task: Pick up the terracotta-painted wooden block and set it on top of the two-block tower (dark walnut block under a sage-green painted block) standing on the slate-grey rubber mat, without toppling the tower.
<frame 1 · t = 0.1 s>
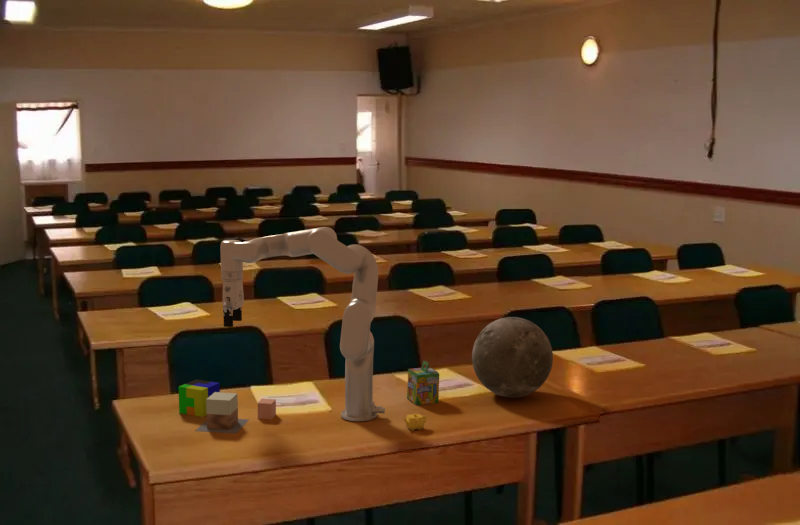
hand: (232, 323, 309), 31 cm above the table, fingers open, 9 cm apart
tower base: (222, 425, 296), resting on mat, touching tower top
terracotta block: (266, 417, 305), on the table
tower top: (222, 410, 295), point 5 cm above the table, touching tower base
mat: (222, 426, 296), on the table
globe: (511, 396, 333), on the table
teapot: (414, 430, 295), on the table
puzzle toy: (199, 412, 311), on the table
chalk box: (422, 401, 325), on the table
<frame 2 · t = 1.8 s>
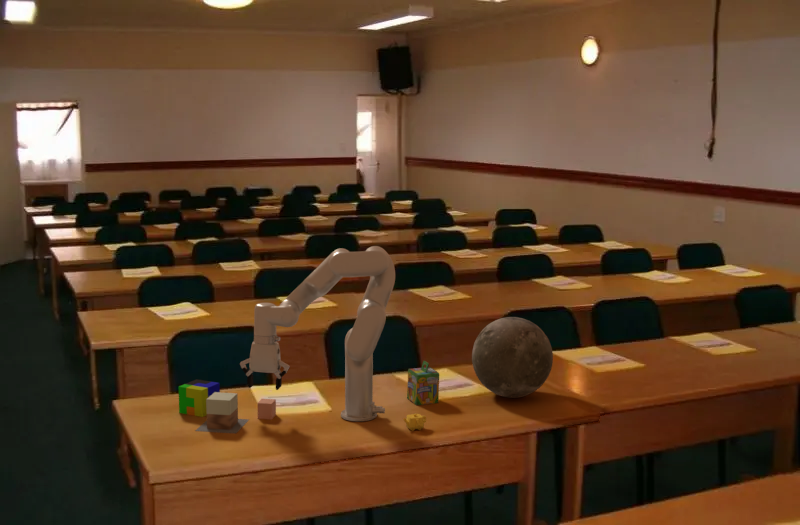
hand: (264, 387, 304), 11 cm above the table, fingers open, 9 cm apart
nothing on the table moved.
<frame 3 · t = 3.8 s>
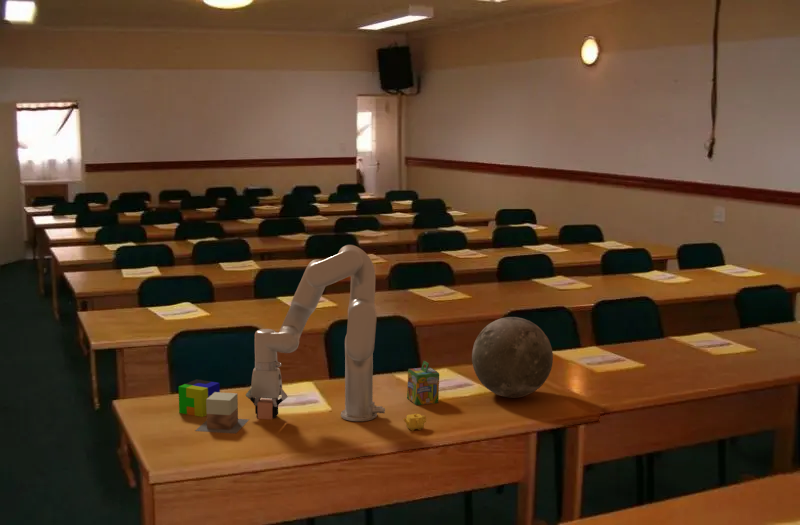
hand: (266, 415, 305), 1 cm above the table, fingers closed on terracotta block, 5 cm apart
terracotta block: (266, 417, 305), on the table, touching gripper
everything else where it was.
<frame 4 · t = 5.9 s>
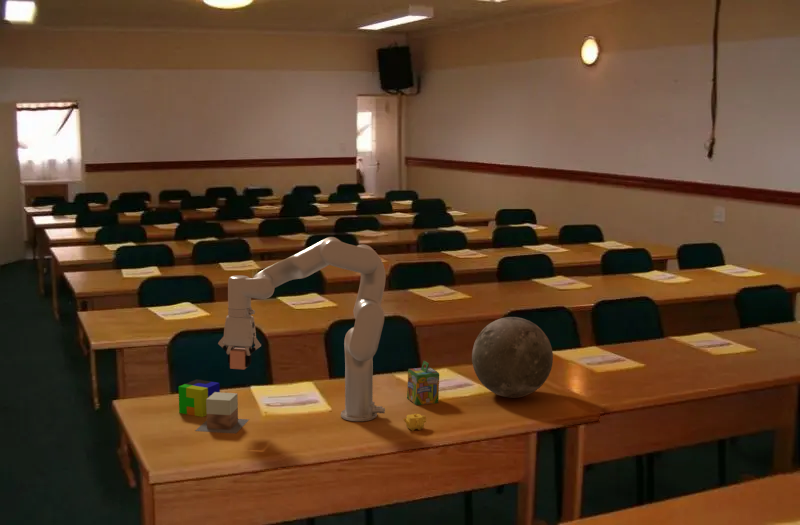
hand: (239, 365, 297), 20 cm above the table, fingers closed on terracotta block, 5 cm apart
terracotta block: (239, 367, 297), point 19 cm above the table, touching gripper
everything else where it was.
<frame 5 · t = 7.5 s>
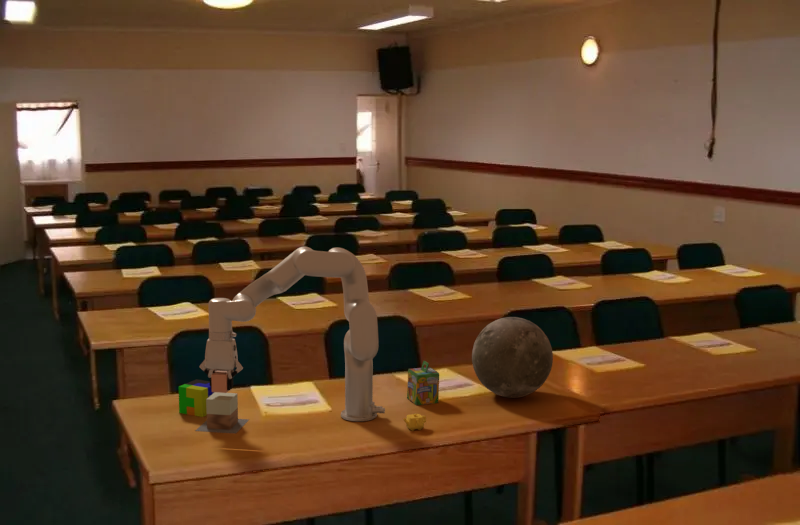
hand: (221, 388, 294), 13 cm above the table, fingers closed on terracotta block, 5 cm apart
terracotta block: (221, 390, 294), point 12 cm above the table, touching gripper
everything else where it was.
when the fingers open (12 cm above the table, at t = 8.5 s): terracotta block stays where it is, resting on tower top.
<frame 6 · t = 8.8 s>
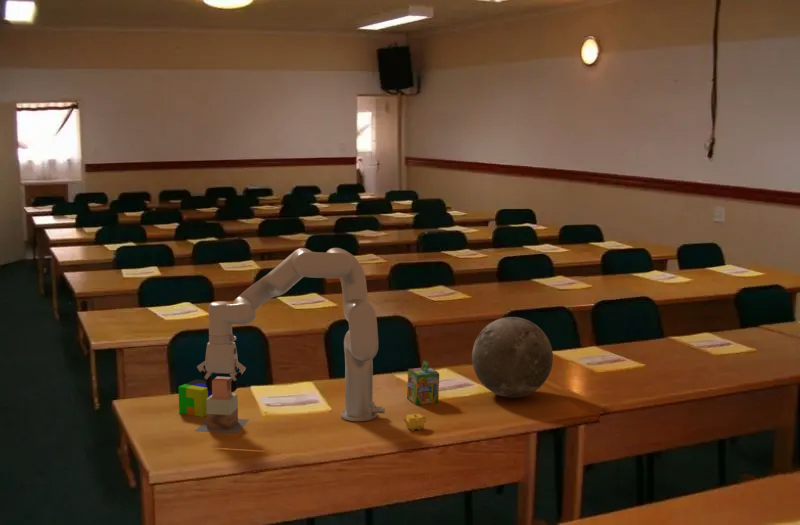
hand: (221, 390, 294), 13 cm above the table, fingers open, 7 cm apart
terracotta block: (222, 396, 295), point 10 cm above the table, touching tower top
tower top: (222, 410, 295), point 5 cm above the table, touching terracotta block, tower base
everything else where it was.
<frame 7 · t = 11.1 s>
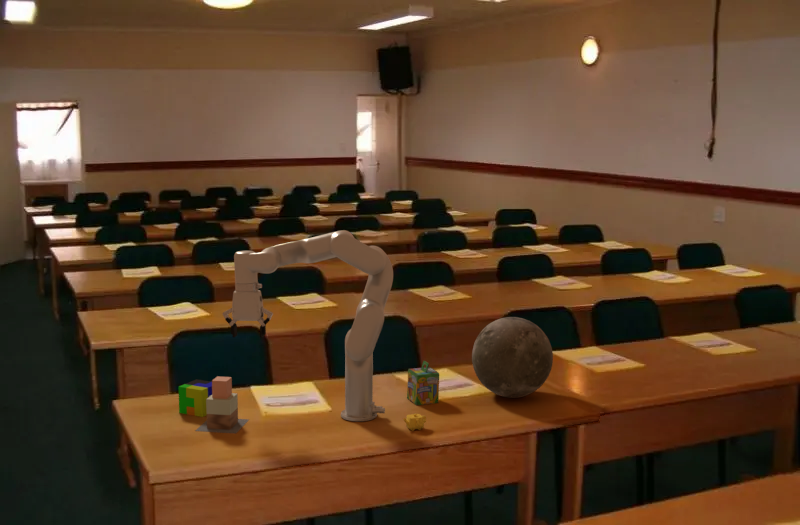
hand: (248, 336, 301), 29 cm above the table, fingers open, 9 cm apart
nothing on the table moved.
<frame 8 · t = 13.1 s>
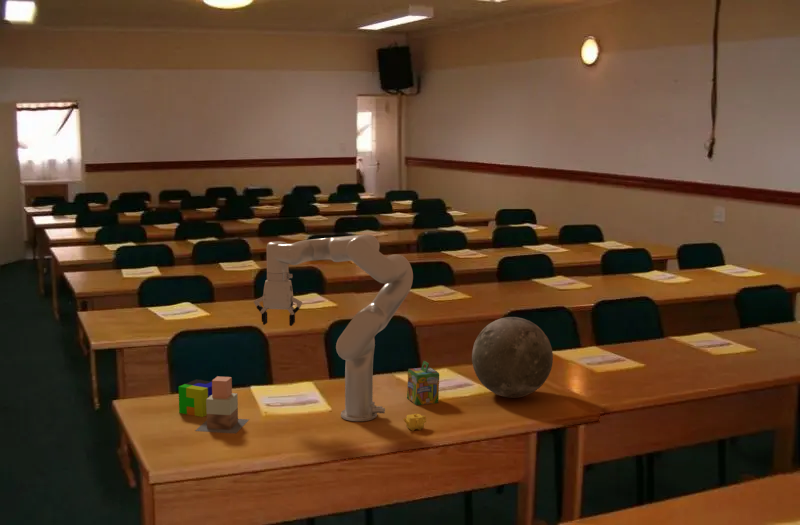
hand: (278, 324, 312), 30 cm above the table, fingers open, 9 cm apart
nothing on the table moved.
at the end: terracotta block point 10.4 cm above the table; terracotta block 0.1 cm from the tower top (horizontally); tower top tilted 0° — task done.
